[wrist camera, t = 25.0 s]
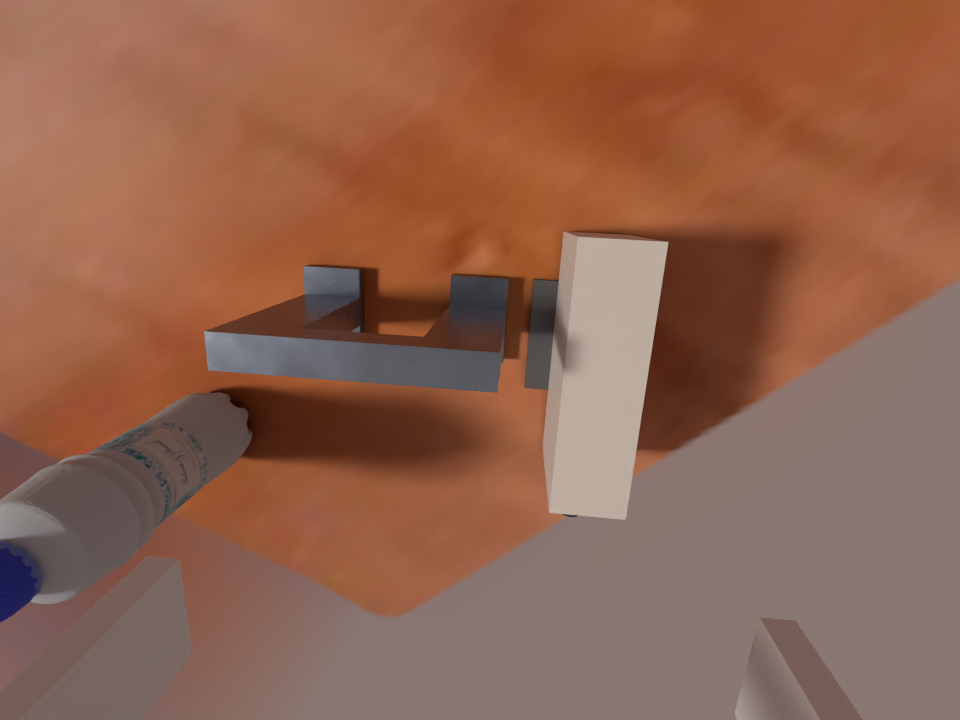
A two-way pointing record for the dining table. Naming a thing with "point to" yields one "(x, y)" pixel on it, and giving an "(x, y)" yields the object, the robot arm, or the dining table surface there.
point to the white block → (599, 369)
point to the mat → (541, 333)
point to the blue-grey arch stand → (368, 337)
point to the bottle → (111, 499)
